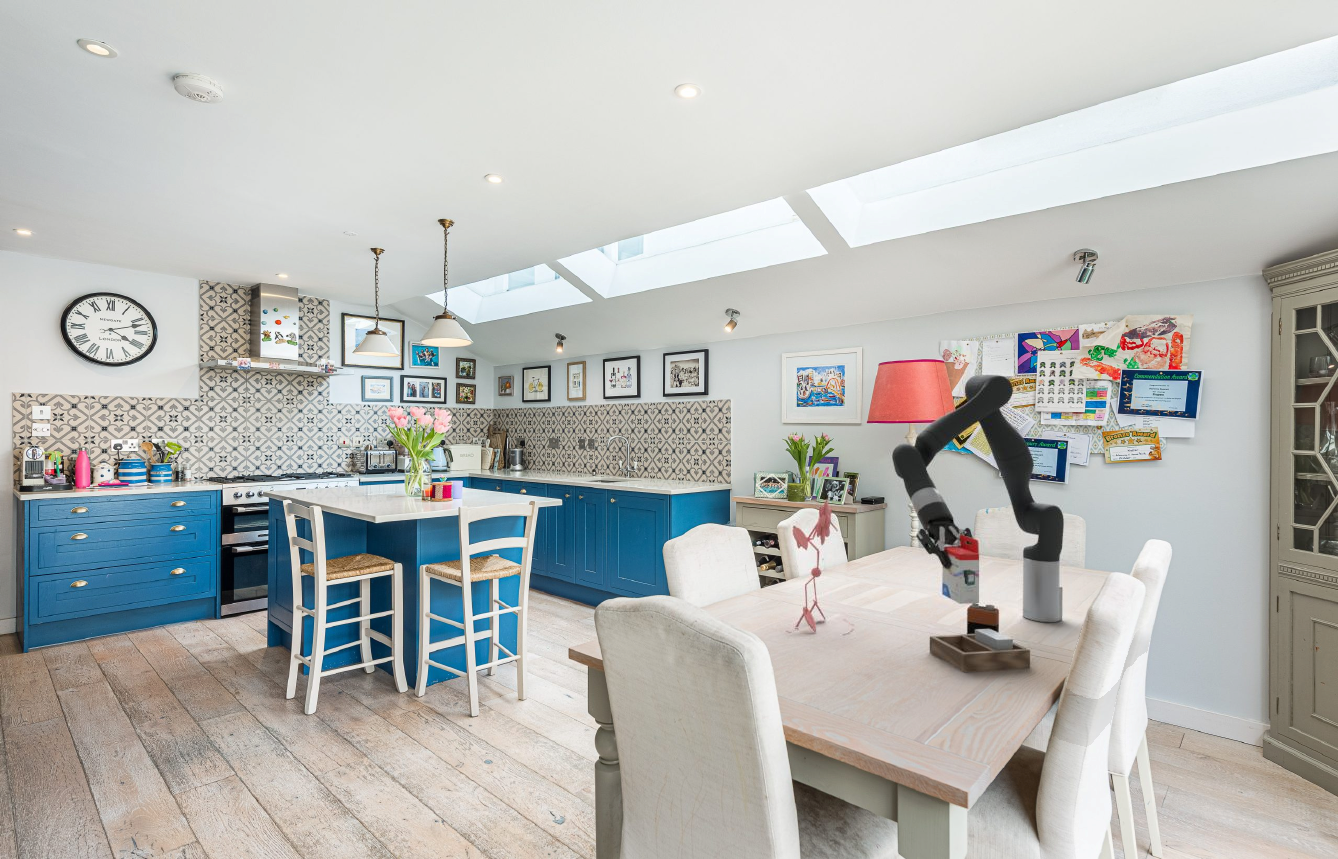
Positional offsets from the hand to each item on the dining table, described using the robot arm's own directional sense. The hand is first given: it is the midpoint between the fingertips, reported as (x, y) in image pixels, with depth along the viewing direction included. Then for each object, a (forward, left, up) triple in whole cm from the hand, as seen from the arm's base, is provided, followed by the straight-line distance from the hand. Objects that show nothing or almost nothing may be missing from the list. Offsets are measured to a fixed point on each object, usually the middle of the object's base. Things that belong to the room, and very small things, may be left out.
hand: (960, 566), depth 154 cm
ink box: (0, 0, -8) cm, 8 cm away
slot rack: (-4, +1, -22) cm, 22 cm away
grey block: (-8, +1, -22) cm, 24 cm away
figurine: (+21, -29, -22) cm, 42 cm away
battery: (-13, -9, -22) cm, 27 cm away
